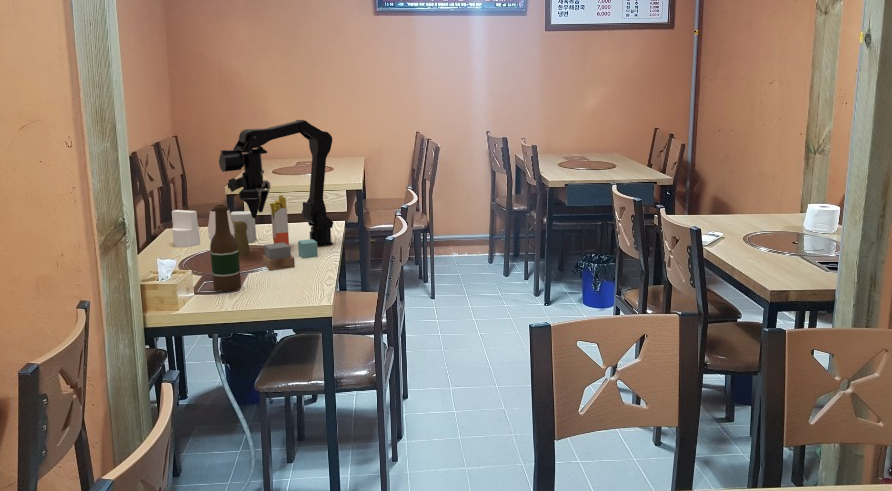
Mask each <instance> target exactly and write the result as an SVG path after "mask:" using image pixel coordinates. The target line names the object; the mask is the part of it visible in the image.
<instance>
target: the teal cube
mask: <svg viewBox="0 0 892 491" xmlns="http://www.w3.org/2000/svg"><path fill="white" fill-rule="evenodd" d="M297 244H298V246H297V247H298V248H297V249H298V256H299V257H301V259H309V258H310V259H311V258H318V257H319V256H318V255H319V254H318V246H317V242H316V241H315V240H313V239H310V238H309V239H303V240H297Z"/></svg>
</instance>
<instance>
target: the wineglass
mask: <svg viewBox="0 0 892 491" xmlns="http://www.w3.org/2000/svg"><path fill="white" fill-rule="evenodd" d="M231 213H232V212H231V210H230V208H228V209H227V215H228V222H229V228H230V232H231V234H232V235H233V237H234V238H235V227H234V223H233V219H232V216H231ZM207 228H208V229H207V233H208V234H207V235H208V239H209V241H210V242H211V240H212V238H213V236H214V235H215V229H216V225H215V210H214V208H213V209H210V210H209V216H208V226H207Z"/></svg>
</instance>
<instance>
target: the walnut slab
mask: <svg viewBox="0 0 892 491" xmlns="http://www.w3.org/2000/svg"><path fill="white" fill-rule="evenodd" d="M295 263H296V262H295V257H294V256H293V255H291V257H289V258H282V259H274V260H270V259H268V258H267V257H266V256H265V254H263V255H262V265H263V264H264V265H265V266H266V267H267V268H268V269H267V268H266V267H265V266H264V265H263V266H264V267H265V268H266V269H267V270H268V271H277V270H284V269H293V268H295V266H296V265H295Z"/></svg>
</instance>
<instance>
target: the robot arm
mask: <svg viewBox="0 0 892 491" xmlns="http://www.w3.org/2000/svg"><path fill="white" fill-rule="evenodd" d="M296 134H300V135H301V136H302V137H303V138H305V139H306V140H308V145H309V146H308V148H309V151H310V153H311V158H312V159H311V171H310V186H309V197H308V199H307V201H303V202H302V211H301V214H302V216H303V219H304V221H306V222H307V223H308V226H309V227H310V231H309V240H310V239H313V240H315V241H316V242H317V247H323V246H331V245H333V244H334V243H333V242H332V235H331V234H332V230H331V229H333V225H334V221H333V220H331V219H330V217H328V215H327V207H326V204H325V201H324V192H325V190H324V189H325V178H326V177H325V176H326V167H327V166H326V164H327V161H326V160H327V157H328V155H329V153H330V152H331V149H332V144H333V136H332V135H331V133H329V132H327V131H326V130H325V131H323V130H321V129H319V128H318V127H316V126H314V125H312V124H311V123H310V122H308V121H307V120H305V119H296V120H295V121H290V122H286V123H283V124H278V125H275V126H270V127H266V128H247V129H246V128H245V129H243V130H242V131H241V130H240V133H239V135H238V140H237V142H236V143H235V146H234V147H233V149H221V150H220V155H219V159H218V164H219V169H220V170H221V171H222V173H224V172H225V173H226V172H234V171H241V170H242V168H243V169H244V170H243V173H242V174H241V177H237V178H235V177H232V178H230V179H228V182H227V183H226V185H227V189H229V191H230V192H231V193H233V192H235V191H237V190H239V189H240V191H239V192H238V198H239V199H240V200H241V201H243V202H244V203H245V204H247V207H248V209H249V211H250V212H251V215H252V218H255V219H256V218H257V215H258V213H263V211H264V209H265V205H266V201H267V200H268V195H269V193H270V189H271V183H270V182H269V180H264V173H265V170H264V169H263V162H262V160H263V159H262V154H263V155H264V154H268V151H267V150H266V149H265V148H264V147H263V145H265V144H267V143H269V142H270V141H272V140H276V139H281V138H284V137H288V136H292V135H296Z"/></svg>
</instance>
